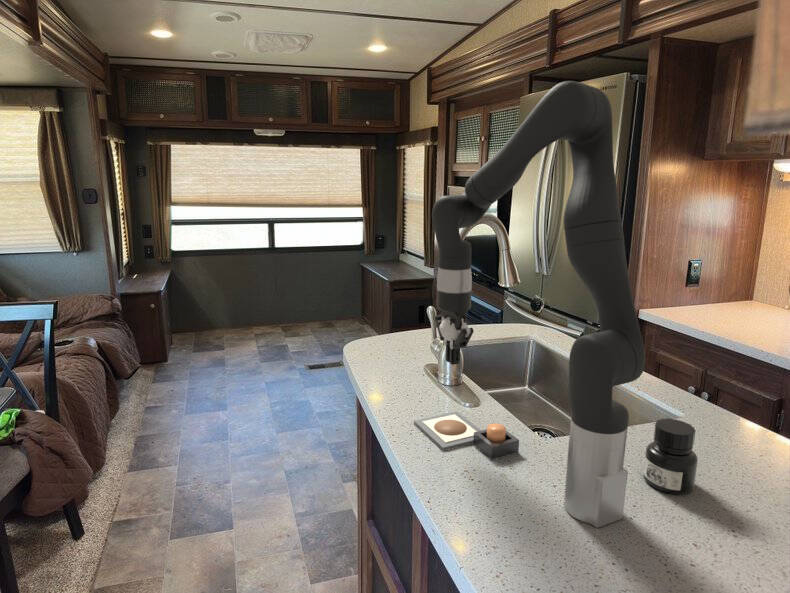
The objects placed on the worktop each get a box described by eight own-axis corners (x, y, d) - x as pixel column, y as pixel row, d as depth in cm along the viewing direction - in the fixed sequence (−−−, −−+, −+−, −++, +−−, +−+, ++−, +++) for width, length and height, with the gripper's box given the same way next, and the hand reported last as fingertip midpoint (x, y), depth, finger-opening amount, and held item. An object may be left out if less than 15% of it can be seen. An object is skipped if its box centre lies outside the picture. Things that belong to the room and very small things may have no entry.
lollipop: (443, 385, 118) (445, 320, 115) (434, 375, 124) (435, 313, 120) (469, 382, 120) (471, 318, 116) (459, 373, 125) (461, 311, 122)
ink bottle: (631, 474, 107) (637, 419, 105) (664, 465, 111) (671, 412, 108) (671, 501, 99) (679, 442, 96) (706, 491, 102) (714, 434, 99)
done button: (508, 442, 116) (509, 429, 115) (493, 446, 114) (494, 433, 113) (498, 434, 119) (498, 422, 119) (483, 438, 118) (483, 425, 117)
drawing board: (488, 439, 121) (489, 435, 121) (442, 450, 116) (442, 446, 116) (456, 414, 134) (456, 410, 133) (413, 423, 129) (413, 419, 128)
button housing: (518, 452, 116) (519, 440, 115) (491, 459, 113) (492, 446, 112) (499, 438, 122) (499, 426, 121) (473, 444, 119) (473, 432, 118)
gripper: (486, 292, 112) (483, 369, 116) (453, 280, 124) (451, 351, 128) (455, 296, 109) (453, 375, 113) (424, 283, 121) (423, 355, 125)
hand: (452, 362), depth 121 cm, fingers closed on lollipop, 1 cm apart
